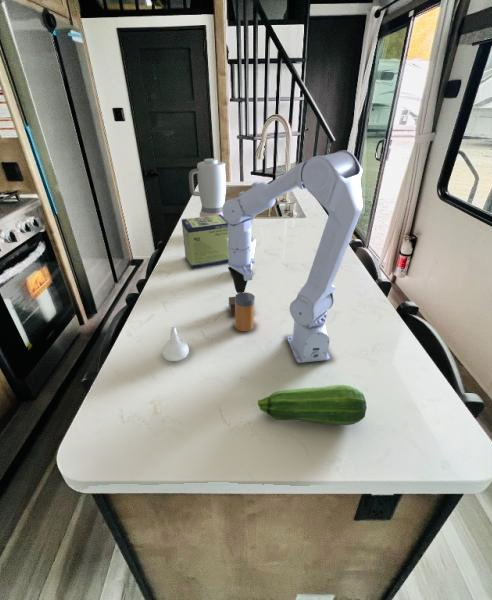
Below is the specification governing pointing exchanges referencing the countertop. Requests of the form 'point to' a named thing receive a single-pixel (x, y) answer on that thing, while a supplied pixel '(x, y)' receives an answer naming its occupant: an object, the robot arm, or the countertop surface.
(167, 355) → the garlic bulb
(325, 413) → the vegetable
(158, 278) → the countertop surface
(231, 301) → the prop block
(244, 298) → the orange and grey block
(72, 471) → the countertop surface
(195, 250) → the protein box
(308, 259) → the countertop surface
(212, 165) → the blender
